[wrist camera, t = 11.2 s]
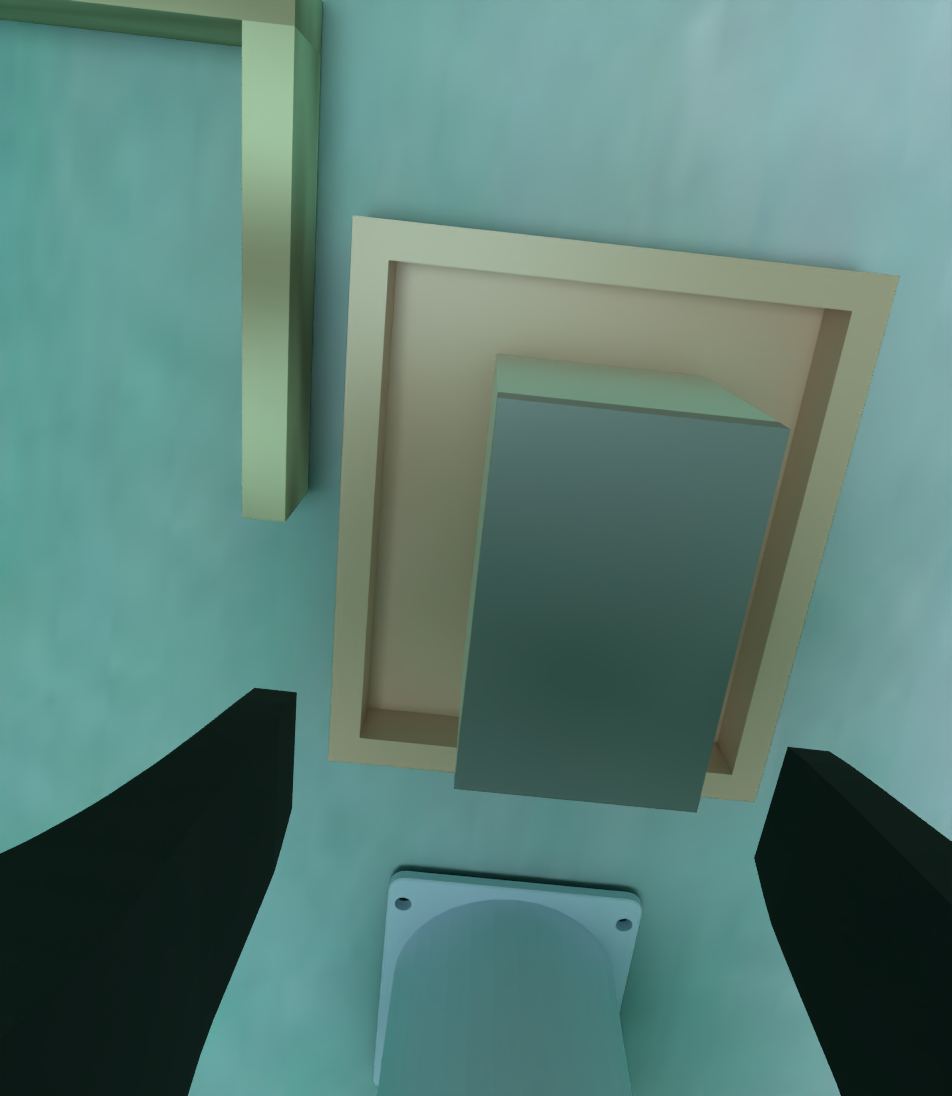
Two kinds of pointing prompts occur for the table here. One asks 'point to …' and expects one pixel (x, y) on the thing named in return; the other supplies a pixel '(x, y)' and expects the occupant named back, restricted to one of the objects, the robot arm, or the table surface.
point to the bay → (253, 208)
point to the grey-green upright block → (609, 580)
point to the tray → (461, 436)
